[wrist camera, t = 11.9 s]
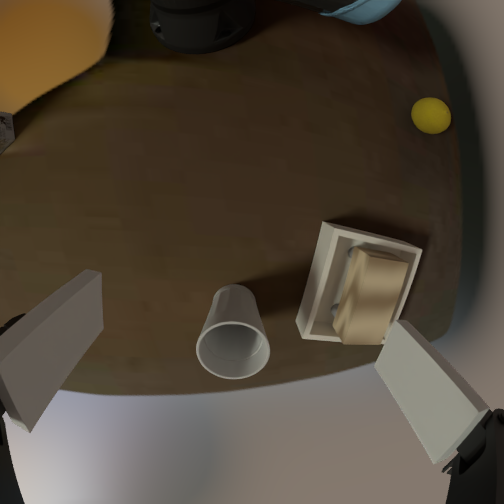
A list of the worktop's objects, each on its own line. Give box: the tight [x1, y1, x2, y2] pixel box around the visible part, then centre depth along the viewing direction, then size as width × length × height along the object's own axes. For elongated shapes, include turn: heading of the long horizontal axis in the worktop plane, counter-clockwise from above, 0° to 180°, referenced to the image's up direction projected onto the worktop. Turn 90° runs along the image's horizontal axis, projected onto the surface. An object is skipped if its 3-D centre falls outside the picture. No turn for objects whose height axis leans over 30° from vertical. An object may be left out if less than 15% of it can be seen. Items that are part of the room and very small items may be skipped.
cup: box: [196, 284, 270, 379], centre depth 34 cm, size 8×8×12 cm
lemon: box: [411, 97, 451, 134], centre depth 29 cm, size 6×6×8 cm
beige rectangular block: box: [332, 246, 409, 345], centre depth 34 cm, size 12×6×5 cm, turn 171°
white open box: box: [296, 221, 422, 344], centre depth 37 cm, size 16×15×5 cm
